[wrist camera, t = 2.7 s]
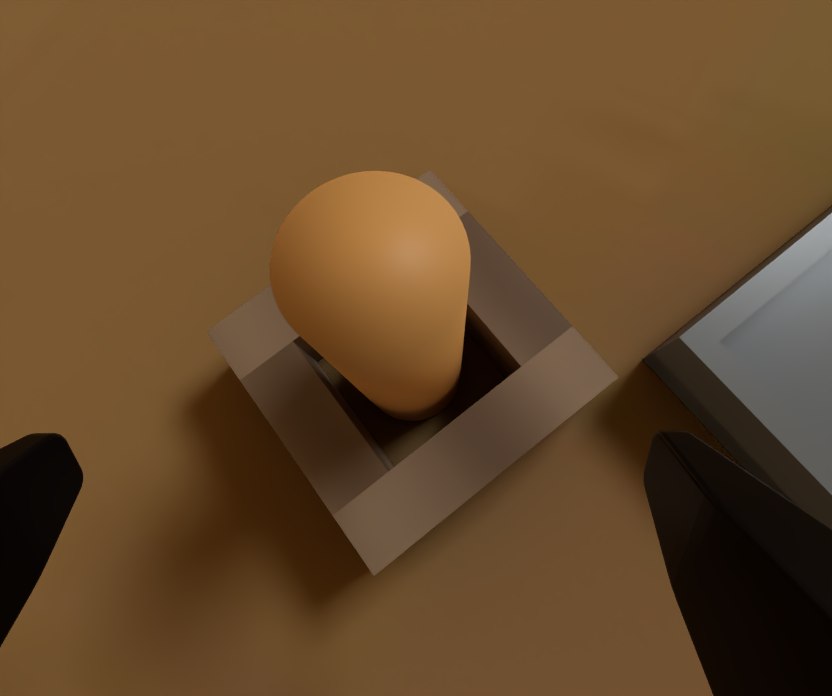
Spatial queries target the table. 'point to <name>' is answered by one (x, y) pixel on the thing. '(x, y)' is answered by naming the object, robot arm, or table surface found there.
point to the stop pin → (378, 287)
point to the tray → (767, 369)
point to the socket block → (452, 446)
